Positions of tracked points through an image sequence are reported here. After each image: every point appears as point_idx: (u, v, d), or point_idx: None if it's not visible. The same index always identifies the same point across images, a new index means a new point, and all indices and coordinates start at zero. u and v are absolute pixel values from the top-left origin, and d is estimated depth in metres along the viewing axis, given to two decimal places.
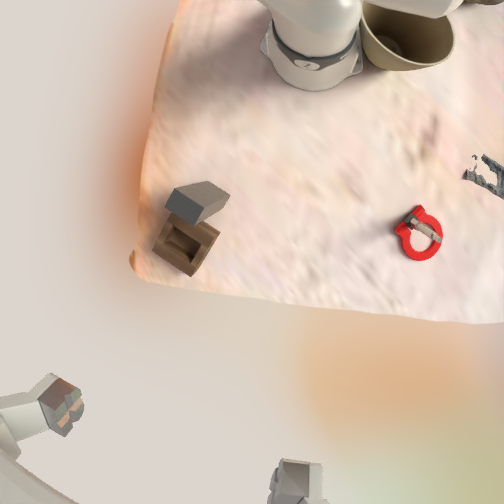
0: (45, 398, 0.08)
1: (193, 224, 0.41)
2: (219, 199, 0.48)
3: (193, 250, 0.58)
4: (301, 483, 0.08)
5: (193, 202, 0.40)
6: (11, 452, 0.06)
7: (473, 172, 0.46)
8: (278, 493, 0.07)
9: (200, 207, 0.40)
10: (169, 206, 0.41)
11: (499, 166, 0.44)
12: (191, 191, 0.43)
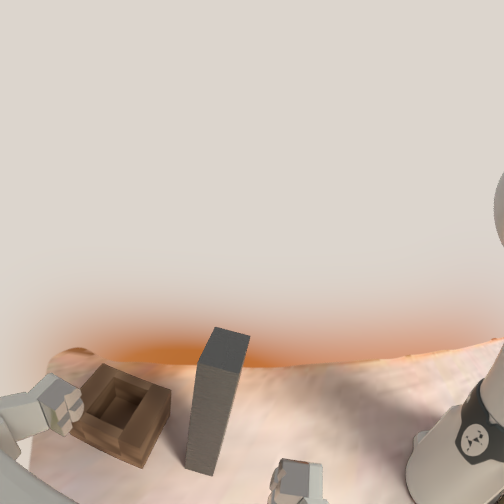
0: (45, 398, 0.08)
1: (201, 361, 0.20)
2: (222, 439, 0.23)
3: None
4: (301, 483, 0.08)
5: (241, 359, 0.21)
6: (11, 452, 0.06)
7: None
8: (278, 493, 0.07)
9: (238, 368, 0.20)
10: (218, 331, 0.24)
11: None
12: (239, 376, 0.24)
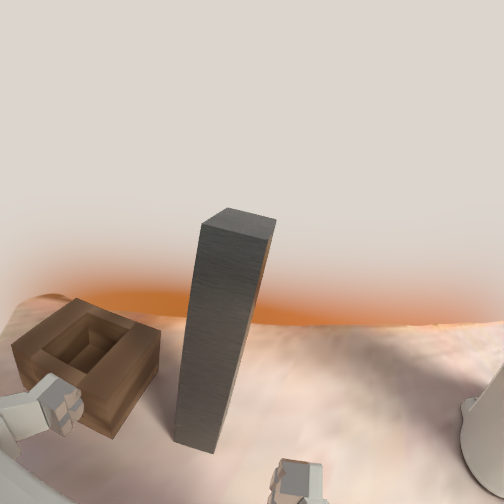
0: (45, 398, 0.08)
1: (206, 224, 0.13)
2: (231, 385, 0.16)
3: None
4: (301, 483, 0.08)
5: (267, 230, 0.15)
6: (11, 452, 0.06)
7: None
8: (278, 493, 0.07)
9: (264, 236, 0.14)
10: (232, 210, 0.17)
11: None
12: (260, 281, 0.17)
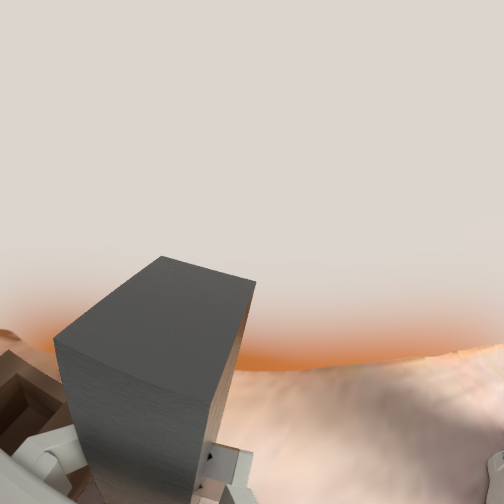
0: None
1: (66, 338, 0.05)
2: None
3: None
4: (226, 469, 0.08)
5: (223, 342, 0.06)
6: (63, 489, 0.06)
7: None
8: None
9: (207, 379, 0.05)
10: (167, 266, 0.08)
11: None
12: (225, 397, 0.09)
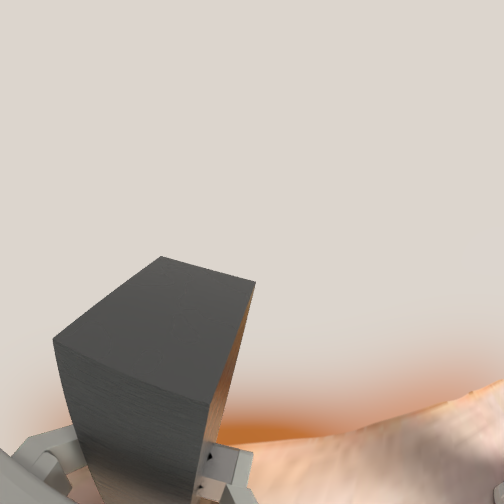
0: None
1: (65, 338, 0.04)
2: None
3: None
4: (226, 469, 0.08)
5: (222, 342, 0.06)
6: (63, 489, 0.06)
7: None
8: None
9: (206, 380, 0.05)
10: (166, 266, 0.08)
11: None
12: (224, 398, 0.09)
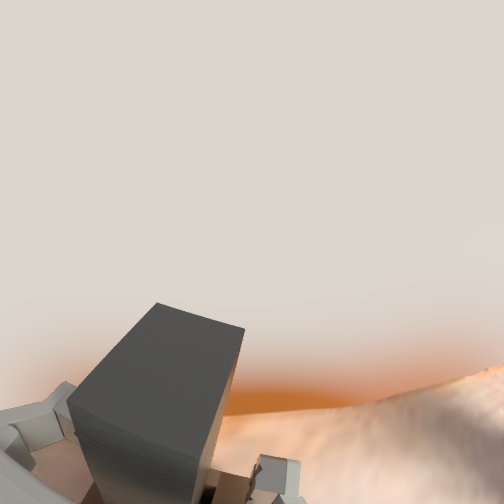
0: (61, 408, 0.08)
1: (77, 399, 0.05)
2: None
3: None
4: (277, 479, 0.08)
5: (211, 399, 0.06)
6: (26, 464, 0.06)
7: None
8: (253, 489, 0.07)
9: (197, 436, 0.05)
10: (162, 315, 0.09)
11: None
12: (218, 428, 0.09)
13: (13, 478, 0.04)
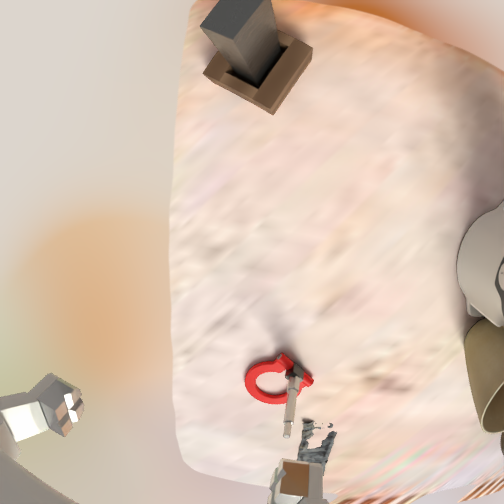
0: (45, 398, 0.08)
1: (202, 25, 0.17)
2: (252, 70, 0.26)
3: None
4: (301, 483, 0.08)
5: (243, 22, 0.17)
6: (11, 452, 0.06)
7: (313, 427, 0.47)
8: (278, 493, 0.07)
9: (234, 33, 0.17)
10: None
11: (329, 448, 0.48)
12: (264, 24, 0.20)
13: (13, 478, 0.04)
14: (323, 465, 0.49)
